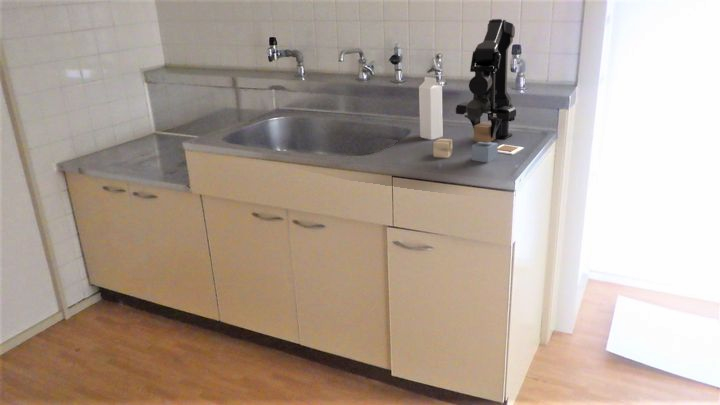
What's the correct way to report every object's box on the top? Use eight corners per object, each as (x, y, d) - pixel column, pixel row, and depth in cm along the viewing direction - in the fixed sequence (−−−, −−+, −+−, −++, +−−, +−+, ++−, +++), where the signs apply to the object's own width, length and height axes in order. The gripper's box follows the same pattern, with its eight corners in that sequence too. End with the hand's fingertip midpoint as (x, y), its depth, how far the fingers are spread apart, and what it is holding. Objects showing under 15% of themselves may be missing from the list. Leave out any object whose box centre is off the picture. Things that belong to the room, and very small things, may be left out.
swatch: (502, 145, 208) (502, 143, 207) (523, 148, 203) (524, 146, 202) (491, 151, 202) (491, 149, 202) (512, 154, 197) (513, 152, 197)
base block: (481, 155, 199) (481, 140, 197) (497, 158, 195) (497, 143, 194) (471, 160, 195) (471, 145, 193) (488, 163, 191) (488, 148, 189)
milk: (431, 140, 220) (429, 79, 211) (419, 137, 224) (418, 78, 216) (443, 136, 223) (442, 77, 215) (431, 133, 227) (430, 75, 219)
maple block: (438, 152, 205) (438, 138, 203) (452, 153, 203) (452, 139, 201) (433, 157, 201) (433, 142, 199) (447, 158, 199) (447, 143, 197)
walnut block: (481, 137, 196) (481, 122, 194) (495, 139, 193) (495, 123, 191) (473, 140, 193) (474, 125, 191) (487, 143, 190) (488, 127, 188)
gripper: (445, 91, 187) (446, 139, 193) (500, 96, 175) (499, 147, 181) (464, 84, 195) (464, 131, 200) (517, 88, 183) (516, 138, 189)
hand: (484, 136), depth 193 cm, fingers closed on walnut block, 5 cm apart
